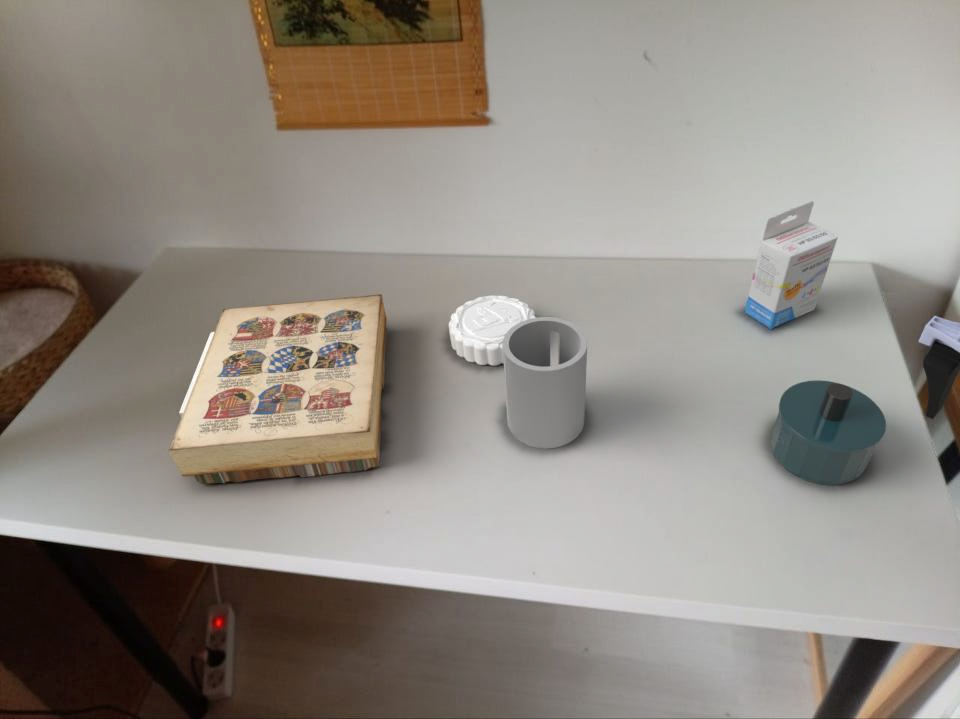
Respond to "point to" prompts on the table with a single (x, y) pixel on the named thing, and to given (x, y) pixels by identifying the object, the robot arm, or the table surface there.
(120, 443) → the table surface
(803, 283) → the ink box
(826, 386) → the tin lid
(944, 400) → the robot arm
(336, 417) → the book
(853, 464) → the tin
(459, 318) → the mooncake
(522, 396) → the cup
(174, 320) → the table surface
